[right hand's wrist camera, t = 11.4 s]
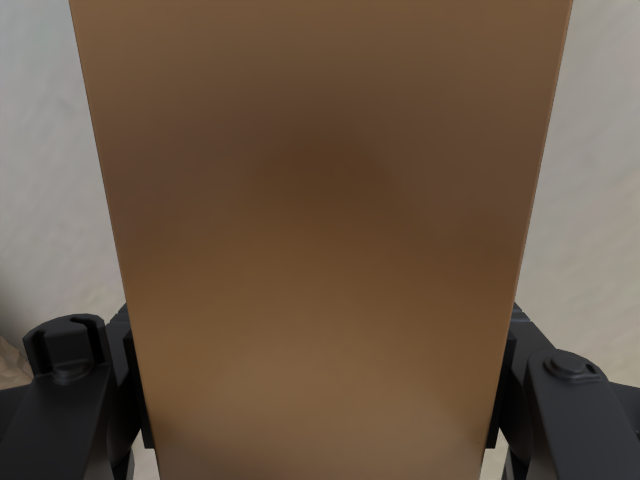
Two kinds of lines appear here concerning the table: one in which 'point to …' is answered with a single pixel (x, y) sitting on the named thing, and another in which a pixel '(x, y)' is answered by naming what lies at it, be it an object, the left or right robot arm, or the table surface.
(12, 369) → the stone
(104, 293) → the table surface
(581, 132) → the table surface
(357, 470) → the bar
